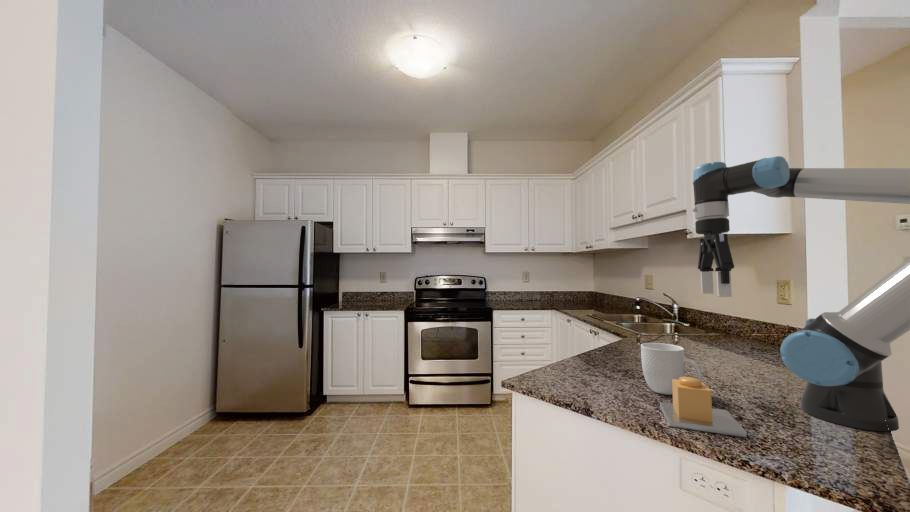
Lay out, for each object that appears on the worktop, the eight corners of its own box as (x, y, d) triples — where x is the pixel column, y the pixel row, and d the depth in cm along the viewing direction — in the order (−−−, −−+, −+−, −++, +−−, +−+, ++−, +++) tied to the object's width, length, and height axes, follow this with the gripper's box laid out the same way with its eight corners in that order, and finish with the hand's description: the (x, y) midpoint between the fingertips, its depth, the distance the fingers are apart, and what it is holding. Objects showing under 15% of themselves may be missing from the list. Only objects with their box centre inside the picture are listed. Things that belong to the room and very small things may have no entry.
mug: (706, 394, 95) (704, 348, 96) (698, 405, 87) (696, 355, 88) (648, 382, 106) (647, 341, 106) (637, 391, 98) (635, 346, 99)
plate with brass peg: (726, 414, 81) (724, 387, 82) (746, 437, 70) (745, 405, 71) (660, 406, 87) (659, 380, 87) (669, 426, 76) (668, 396, 76)
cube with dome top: (703, 411, 81) (702, 377, 81) (712, 422, 75) (710, 385, 75) (673, 407, 83) (671, 374, 84) (679, 417, 77) (677, 381, 78)
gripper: (684, 225, 106) (687, 292, 105) (710, 212, 83) (714, 298, 82) (712, 224, 103) (716, 292, 102) (747, 210, 80) (752, 298, 79)
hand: (715, 295), depth 92 cm, fingers open, 13 cm apart
